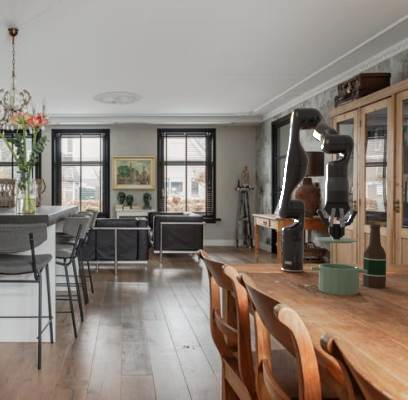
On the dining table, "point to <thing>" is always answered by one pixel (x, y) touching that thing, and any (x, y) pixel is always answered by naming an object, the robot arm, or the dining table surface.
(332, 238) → the lid
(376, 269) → the beer bottle
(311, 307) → the dining table surface
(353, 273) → the pot
